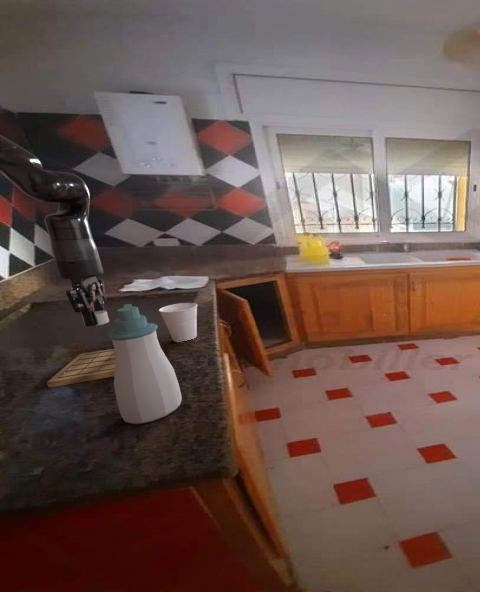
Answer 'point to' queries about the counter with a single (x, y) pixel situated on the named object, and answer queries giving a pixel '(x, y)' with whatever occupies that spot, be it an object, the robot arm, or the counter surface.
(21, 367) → the counter surface
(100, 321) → the white short cylinder
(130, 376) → the soap bottle
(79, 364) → the board
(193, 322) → the cup
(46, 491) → the counter surface
